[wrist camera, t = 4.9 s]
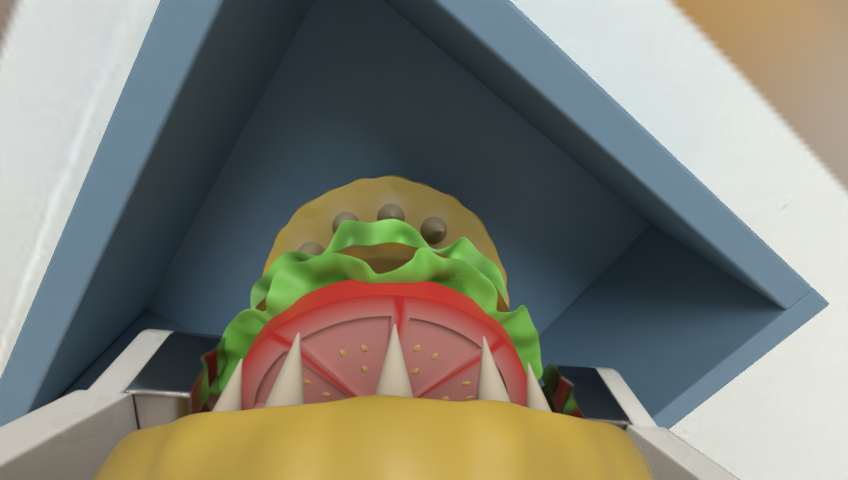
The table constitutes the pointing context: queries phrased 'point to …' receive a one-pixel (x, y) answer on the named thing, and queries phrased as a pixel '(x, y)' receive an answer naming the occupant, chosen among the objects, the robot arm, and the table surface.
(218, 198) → the toy box
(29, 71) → the table surface
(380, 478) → the hamburger
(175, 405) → the robot arm
